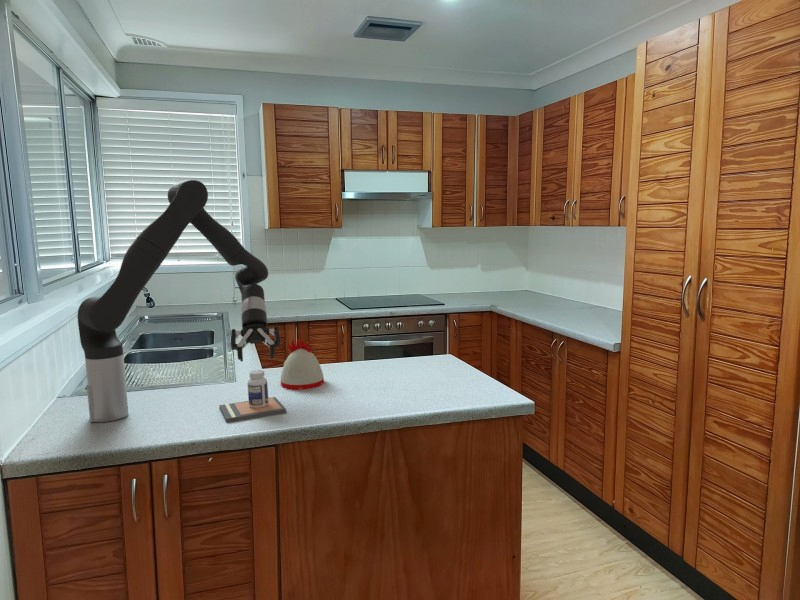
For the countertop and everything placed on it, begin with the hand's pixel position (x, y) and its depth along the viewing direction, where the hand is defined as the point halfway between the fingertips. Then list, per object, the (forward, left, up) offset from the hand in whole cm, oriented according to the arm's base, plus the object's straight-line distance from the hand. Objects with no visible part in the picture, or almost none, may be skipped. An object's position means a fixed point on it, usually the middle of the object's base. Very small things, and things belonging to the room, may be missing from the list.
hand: (256, 358), depth 163 cm
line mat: (-3, -8, -13) cm, 16 cm away
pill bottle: (-2, -8, -12) cm, 14 cm away
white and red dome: (+17, +12, -13) cm, 24 cm away
